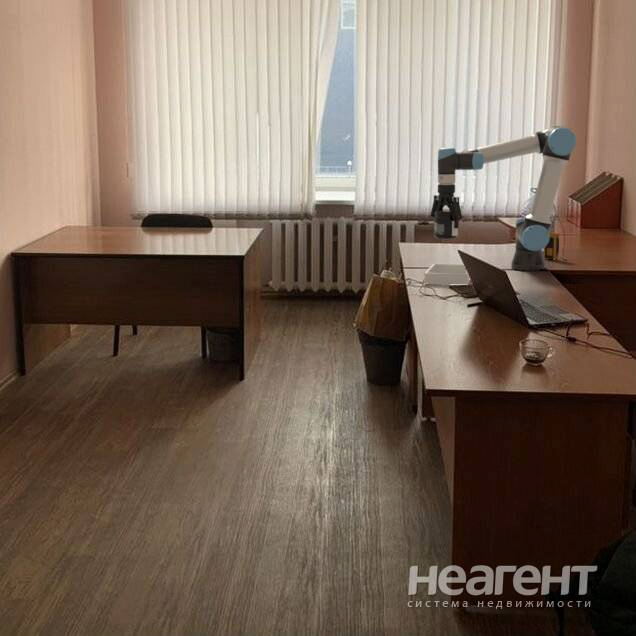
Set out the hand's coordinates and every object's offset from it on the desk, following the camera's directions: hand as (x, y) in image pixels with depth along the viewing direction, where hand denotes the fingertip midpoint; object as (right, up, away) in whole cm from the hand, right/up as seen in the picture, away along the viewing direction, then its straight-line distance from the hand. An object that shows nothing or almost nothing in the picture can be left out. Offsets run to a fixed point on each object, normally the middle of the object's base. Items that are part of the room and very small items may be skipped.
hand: (446, 234), depth 444 cm
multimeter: (+57, -9, +38) cm, 69 cm away
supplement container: (0, -2, 0) cm, 2 cm away
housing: (0, -20, -9) cm, 22 cm away
